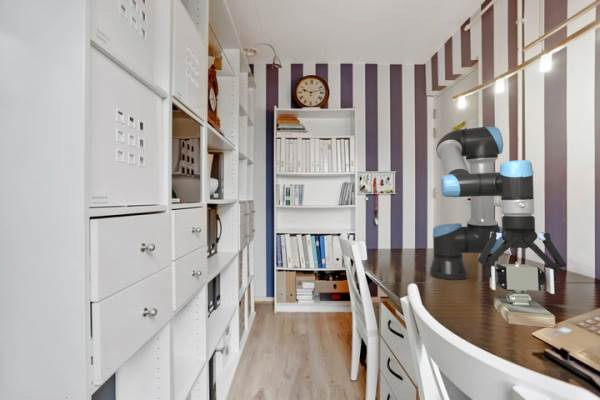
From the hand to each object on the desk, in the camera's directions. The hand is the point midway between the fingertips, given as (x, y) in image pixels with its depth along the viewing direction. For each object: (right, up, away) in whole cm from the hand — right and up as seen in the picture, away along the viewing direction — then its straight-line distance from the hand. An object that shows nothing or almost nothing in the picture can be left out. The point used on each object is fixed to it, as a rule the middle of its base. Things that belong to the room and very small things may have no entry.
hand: (520, 290), depth 83 cm
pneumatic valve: (-1, -4, 0) cm, 4 cm away
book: (0, -7, 0) cm, 7 cm away
